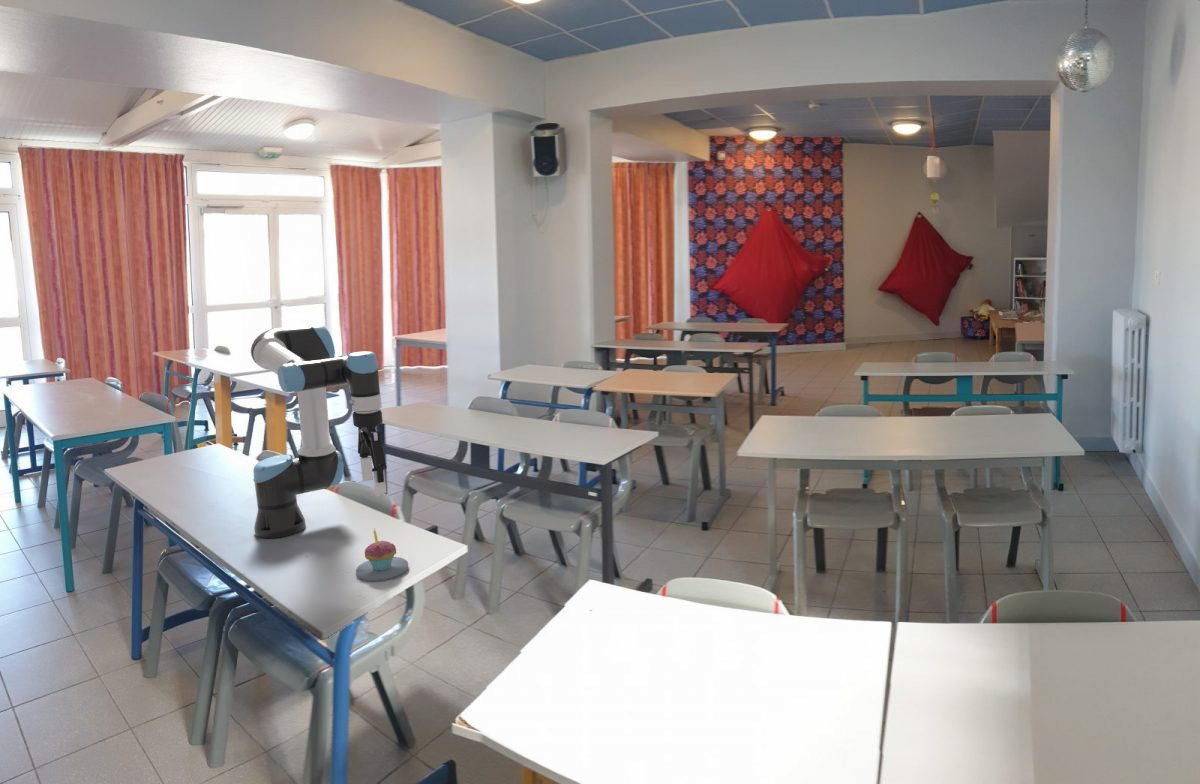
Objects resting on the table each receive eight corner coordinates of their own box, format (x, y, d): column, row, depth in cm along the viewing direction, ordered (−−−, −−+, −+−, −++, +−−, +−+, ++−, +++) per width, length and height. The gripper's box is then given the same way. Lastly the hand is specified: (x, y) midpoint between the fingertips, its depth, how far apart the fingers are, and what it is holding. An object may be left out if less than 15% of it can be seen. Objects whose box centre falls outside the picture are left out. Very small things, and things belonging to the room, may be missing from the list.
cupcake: (388, 574, 216) (384, 532, 213) (359, 572, 217) (355, 531, 215) (402, 561, 224) (398, 520, 222) (374, 560, 226) (370, 519, 223)
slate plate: (346, 579, 216) (345, 575, 216) (373, 559, 229) (372, 555, 229) (392, 583, 212) (392, 579, 212) (417, 562, 226) (417, 558, 225)
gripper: (341, 404, 221) (349, 477, 225) (364, 421, 199) (372, 502, 204) (369, 400, 224) (376, 472, 228) (394, 417, 203) (401, 496, 207)
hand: (374, 486), depth 216 cm, fingers open, 13 cm apart
